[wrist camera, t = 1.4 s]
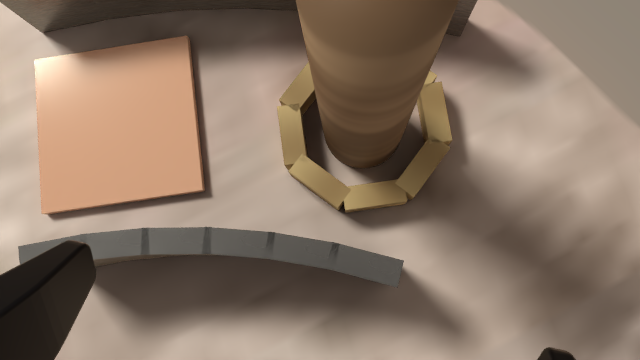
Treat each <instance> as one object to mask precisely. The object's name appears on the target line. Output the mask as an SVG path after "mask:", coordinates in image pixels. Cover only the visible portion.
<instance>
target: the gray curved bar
mask: <svg viewBox="0 0 640 360" xmlns="http://www.w3.org/2000/svg"><path fill="white" fill-rule="evenodd" d="M0 2H1V3H2V4H4V5H5V6H6V7H8V8H9V9H11V10H12V11H13V12H15V13H16V14H17V15H19V16H20V17H21V18H23V19H24V20H25V21H27V22H28V23H30V24H31V25H32V26H34V27H35V28H36V29H38V30H39V31H40V32H42V33H43V32H48V31H53V30H58V29H62V28H67V27H72V26H77V25H82V24H87V23H92V22H97V21H102V20H107V19H112V18H120V17H129V16H137V15H145V14H154V13H162V12H171V11H179V10H207V9H235V8H255V9H277V10H298V8H297V4H296V0H0ZM476 2H477V0H459V1H458V4H457V6H456V8H455V11H454V13H453V16H452V18H451V20H450V23H449V25H448V28H447V30H446V32H445V33H447V34H452V35H456V36H460V35H461V33H462V31H463V29H464V27H465V25H466V23H467V21H468V19H469V16H470V14H471V12H472V10H473V8H474V6H475V4H476ZM67 240H74V241H78V242H83V243H86V244H88V245H89V246H90V248H91V251H92V256H93V260H94V264H95V267H97V266H102V265H108V264H113V263H118V262H124V261H129V260H138V259H149V258H159V257H169V256H180V255H226V256H238V257H250V258H262V259H271V260H277V261H283V262H289V263H294V264H300V265H306V266H312V267H317V268H323V269H329V270H333V271H337V272H341V273H344V274H348V275H352V276H356V277H359V278H363V279H367V280H371V281H374V282H378V283H382V284H386V285H389V286H393V287H397V288H398V283H399V279H400V275H401V271H402V266H403V262H404V261H403V260H399V259H395V258H391V257H388V256H384V255H380V254H376V253H372V252H368V251H365V250H361V249H357V248H353V247H349V246H345V245H342V244H339V243H334V242H327V241H321V240H315V239H309V238H303V237H297V236H291V235H285V234H279V233H275V232H262V231H250V230H237V229H224V228H212V227H198V228H141V229H130V230H120V231H110V232H100V233H90V234H80V235H76V236H71V237H66V238H61V239H55V240H50V241H45V242H39V243H34V244H29V245H24V246H18V248H19V260H20V264H22V263H24V262H26V261H28V260H30V259H32V258H34V257H36V256H38V255H39V254H41V253H43V252H45V251H47V250H49V249H51V248H53V247H55V246H57V245H58V244H60V243H62V242H64V241H67Z"/></svg>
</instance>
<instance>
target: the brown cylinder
mask: <svg viewBox="0 0 640 360" xmlns="http://www.w3.org/2000/svg"><path fill="white" fill-rule="evenodd" d="M458 1H459V0H296V4H297V8H298V13H299V18H300V23H301V27H302V32H303V37H304V42H305V46H306V51H307V56H308V61H309V62H308V63H307V65H306V66H305V67H304V68H303V70H302V71H301V72H300V74H299V75H298V76H297V77H296V79H295V80H294V81H293V82H292V84H291V85H290V86H289V88H288V89H287V90H286V91H285V93H284V94H283V95H282V97H281V98H280V99H279V101H280V103H281V105H282V106H278V107H277V110H278V118H279V126H280V134H281V142H282V149H283V157H284V165H285V166H286V168H287V169H288V170H289V171H288V172H289V173H290V175H291V176H292V177H294V178H295V179H296V180H298V181H299V182H300V183H302V184H303V185H304V186H306V187H307V188H308V189H310V190H311V191H312V192H314V193H315V194H316V195H318V196H319V197H320V198H322V199H323V200H324V201H326V202H327V203H328V204H330V205H331V206H332V207H334V208H335V209H336V210H338V211H339V209H340V208H341V207H342V205H343V204H344V206H345V213H347V212H354V211H361V210H368V209H375V208H382V207H389V206H396V205H403V204H405V203H406V202H407V198H408V199H410V200H412V199H413V198H414V197H415V195H416V194H417V193H418V191H419V190H420V189H421V187H422V186H423V184H424V183H425V182H426V180H427V179H428V178H429V176H430V175H431V174H432V172H433V171H434V170H435V168H436V167H437V165H438V164H439V163H440V161H441V160H442V159H443V157H444V156H445V155H446V153H447V152H448V150H449V149H450V147H449V146H448V145H449V144H450V142H451V141H452V136H451V130H450V125H449V120H448V114H447V109H446V103H445V98H444V93H443V87H442V82H436V83H434V81H435V79H436V77H437V75H436V74H434V73H433V72H431V71H430V68H431V66H432V64H433V61H434V59H435V56H436V54H437V52H438V49H439V47H440V44H441V42H442V40H443V37H444V35H445V32H446V30H447V28H448V25H449V23H450V20H451V18H452V16H453V13H454V11H455V8H456V6H457V4H458ZM316 98H317V103H318V108H319V113H320V117H321V122H322V127H323V132H324V136H325V141H326V144H327V146H328V148H329V150H330V151H331V153H332V154H333V155H334V156H335V157H336V158H337V159H338V160H339V161H341V162H342V163H344V164H346V165H348V166H352V167H356V168H370V167H374V166H377V165H379V164H381V163H383V162H385V161H386V160H387V159H389V158H390V157H391V156H392V155H393V153H394V152H395V151H396V149H397V147H398V145H399V143H400V140H401V138H402V136H403V133H404V131H405V128H406V126H407V124H408V121H409V119H410V116H411V114H412V112H413V109H414V107H415V104H416V102H417V105H418V111H419V116H420V122H421V127H422V133H423V139H424V145H423V147H422V148H421V149H420V151H419V152H418V153H417V155H416V156H415V157H414V159H413V160H412V161H411V163H410V164H409V165H408V167H407V168H406V169H405V171H404V172H403V173H402V175H401V176H400V178H399V179H396V180H389V181H383V182H376V183H369V184H362V185H355V186H348V187H347V186H346V185H344V184H343V183H342V182H340V181H339V180H338V179H336V178H335V177H333V176H332V175H331V174H329V173H328V172H327V171H325V170H324V169H323V168H321V167H320V166H318V165H317V164H316V163H314V162H313V161H312V160H310V159H309V158H308V154H307V147H306V140H305V133H304V125H303V118H302V116H303V114H304V113H305V112H306V110H307V109H308V108H309V106H310V105H311V104H312V103H313V101H314V100H315V99H316Z"/></svg>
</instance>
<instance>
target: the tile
mask: <svg viewBox="0 0 640 360" xmlns="http://www.w3.org/2000/svg"><path fill="white" fill-rule="evenodd" d="M34 61H35V82H36V103H37V124H38V146H39V167H40V188H41V209H42V214H53V213H60V212H67V211H74V210H81V209H88V208H94V207H101V206H108V205H115V204H122V203H128V202H135V201H142V200H149V199H156V198H163V197H169V196H176V195H183V194H190V193H197V192H203V191H205V186H204V176H203V166H202V156H201V146H200V136H199V126H198V117H197V107H196V97H195V87H194V77H193V67H192V57H191V48H190V39H189V38H188V36H181V37H175V38H168V39H162V40H156V41H149V42H143V43H137V44H130V45H124V46H118V47H112V48H105V49H99V50H93V51H86V52H80V53H74V54H67V55H61V56H55V57H48V58H42V59H36V60H34Z"/></svg>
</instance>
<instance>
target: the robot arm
mask: <svg viewBox="0 0 640 360" xmlns="http://www.w3.org/2000/svg"><path fill="white" fill-rule="evenodd" d="M95 278H96V268H95V264H94V260H93V256H92V251H91V248H90V246H89V245H88V244H86V243H83V242H78V241H74V240H67V241H64V242H62V243H60V244H58V245H57V246H55V247H53V248H51V249H49V250H47V251H45V252H43V253H41V254H39V255H38V256H36V257H34V258H32V259H30V260H28V261H26V262H24V263H22V264H20V265H19V266H17V267H15V268H13V269H11V270H9V271H7V272H5V273H3V274H1V275H0V360H54V359H55V358H56V356H57V354H58V353H59V351H60V349H61V347H62V345H63V344H64V342H65V340H66V338H67V336H68V334H69V332H70V330H71V328H72V326H73V324H74V322H75V320H76V318H77V316H78V314H79V312H80V310H81V308H82V306H83V304H84V302H85V300H86V298H87V296H88V294H89V292H90V290H91V288H92V286H93V284H94V281H95ZM538 360H576V359H575V358H574V357H573V355H572V354H571V353H569V352H567V351H564V350H560V349H555V348H551V347H548V348H546V349H544V350H543V352H542V353H541V355H540V356H539V358H538Z"/></svg>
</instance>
